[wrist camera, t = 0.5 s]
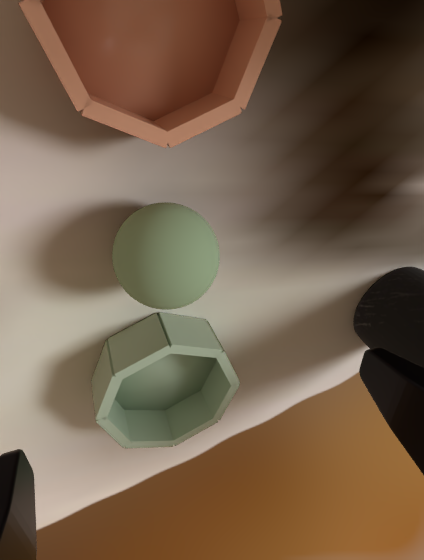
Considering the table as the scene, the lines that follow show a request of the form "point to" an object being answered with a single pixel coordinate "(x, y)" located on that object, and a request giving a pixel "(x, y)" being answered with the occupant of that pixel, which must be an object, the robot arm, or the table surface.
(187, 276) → the ball
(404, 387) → the robot arm
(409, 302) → the travel mug
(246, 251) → the table surface
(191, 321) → the green cup
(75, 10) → the terracotta cup
